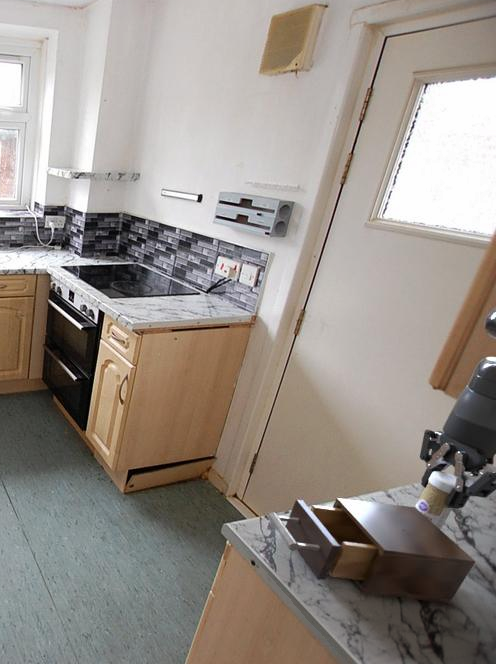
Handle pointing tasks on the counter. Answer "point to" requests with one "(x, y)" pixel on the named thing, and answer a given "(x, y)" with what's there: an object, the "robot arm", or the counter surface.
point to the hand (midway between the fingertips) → (439, 496)
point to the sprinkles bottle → (436, 497)
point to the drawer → (327, 541)
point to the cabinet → (408, 553)
